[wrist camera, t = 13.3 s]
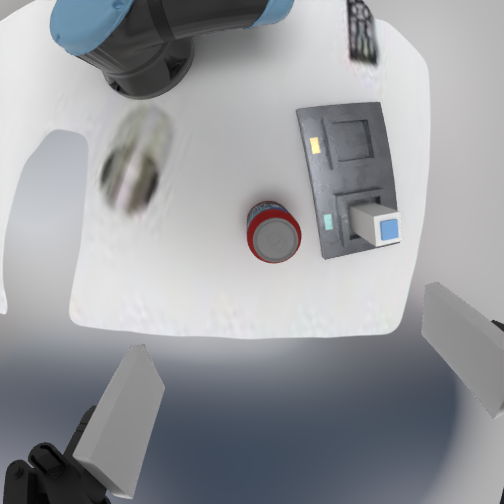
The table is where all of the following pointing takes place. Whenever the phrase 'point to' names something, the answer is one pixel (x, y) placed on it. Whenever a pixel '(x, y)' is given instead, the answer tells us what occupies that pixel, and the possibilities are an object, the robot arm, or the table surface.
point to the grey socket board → (346, 169)
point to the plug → (375, 223)
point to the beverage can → (272, 232)
